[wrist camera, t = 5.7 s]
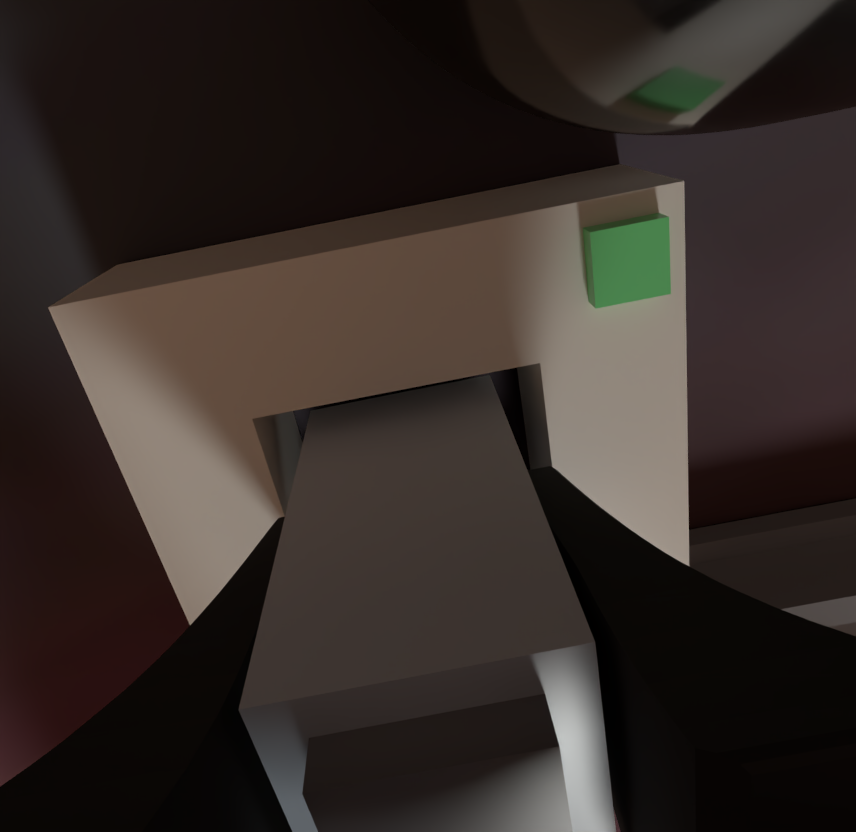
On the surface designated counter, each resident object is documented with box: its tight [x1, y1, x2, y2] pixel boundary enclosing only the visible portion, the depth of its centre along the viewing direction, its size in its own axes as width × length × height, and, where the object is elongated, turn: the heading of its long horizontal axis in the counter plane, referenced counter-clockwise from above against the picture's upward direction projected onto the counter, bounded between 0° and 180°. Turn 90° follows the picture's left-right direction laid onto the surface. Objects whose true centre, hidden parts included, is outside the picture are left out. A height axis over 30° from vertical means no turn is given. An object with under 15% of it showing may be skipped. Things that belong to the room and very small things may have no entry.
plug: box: [238, 375, 616, 832], centre depth 10 cm, size 4×4×8 cm
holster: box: [689, 499, 856, 636], centre depth 17 cm, size 8×6×2 cm
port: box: [48, 164, 689, 625], centre depth 14 cm, size 10×10×3 cm
